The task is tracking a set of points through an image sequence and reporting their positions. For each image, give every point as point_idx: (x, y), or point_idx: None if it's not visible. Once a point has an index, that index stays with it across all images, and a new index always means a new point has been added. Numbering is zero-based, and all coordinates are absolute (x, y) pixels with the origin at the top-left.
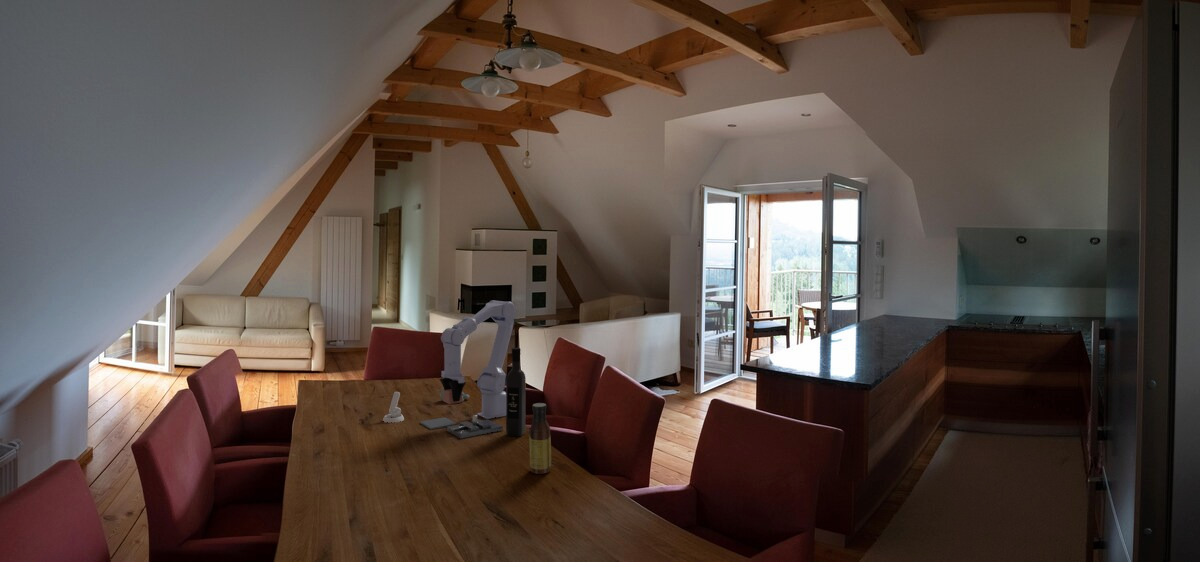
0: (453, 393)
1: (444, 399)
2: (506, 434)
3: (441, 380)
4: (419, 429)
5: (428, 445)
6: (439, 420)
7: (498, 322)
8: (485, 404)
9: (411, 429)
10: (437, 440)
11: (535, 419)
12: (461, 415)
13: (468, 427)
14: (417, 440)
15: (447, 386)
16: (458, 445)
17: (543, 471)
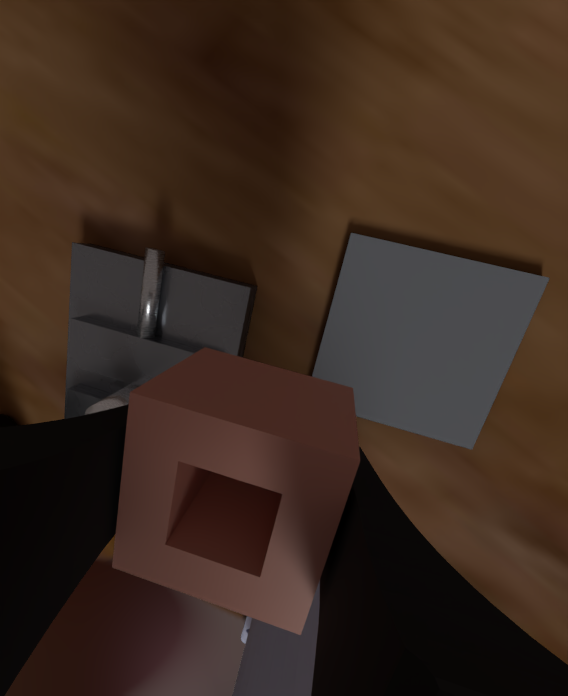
0: (81, 416)
1: (319, 389)
2: (3, 416)
3: (477, 675)
4: (421, 184)
5: (100, 20)
6: (445, 380)
7: None
8: (285, 640)
9: (471, 141)
10: (146, 127)
11: None
12: (440, 538)
13: (97, 325)
14: (228, 21)
15: (347, 580)
16: (9, 160)
17: None
